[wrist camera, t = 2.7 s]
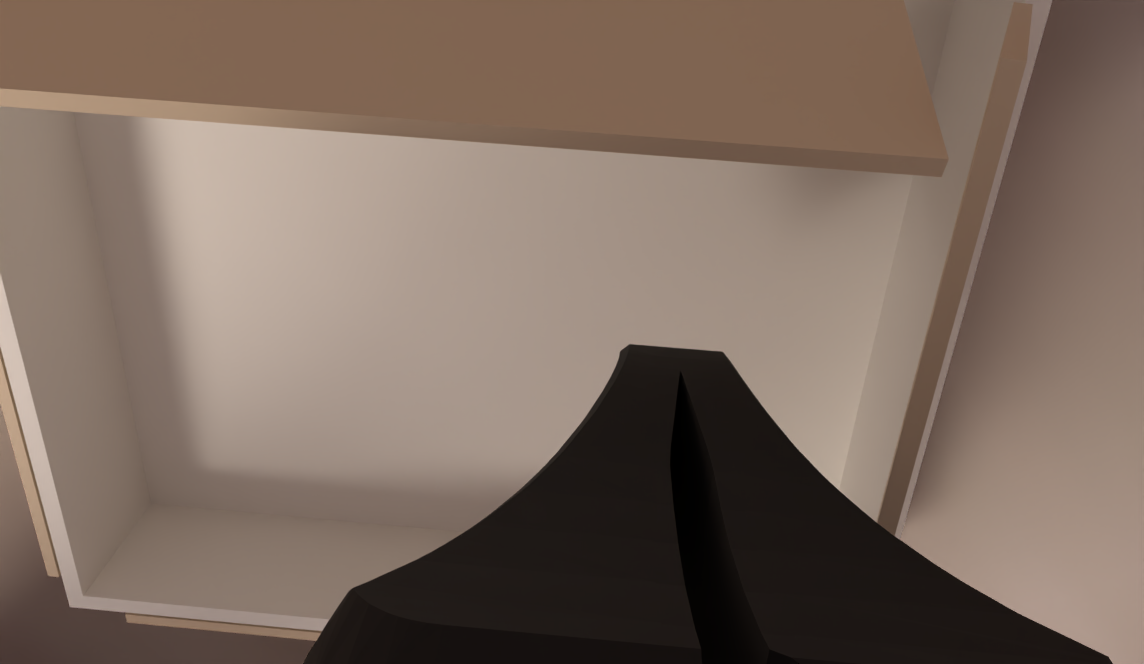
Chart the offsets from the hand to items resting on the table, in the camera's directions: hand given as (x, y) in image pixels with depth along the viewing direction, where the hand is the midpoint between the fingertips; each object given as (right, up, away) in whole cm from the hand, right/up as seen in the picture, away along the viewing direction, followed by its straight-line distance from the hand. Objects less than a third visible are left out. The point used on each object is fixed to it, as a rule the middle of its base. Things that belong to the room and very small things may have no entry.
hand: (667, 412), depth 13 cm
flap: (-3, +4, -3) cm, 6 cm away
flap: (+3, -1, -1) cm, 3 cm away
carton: (-3, +2, +4) cm, 5 cm away
